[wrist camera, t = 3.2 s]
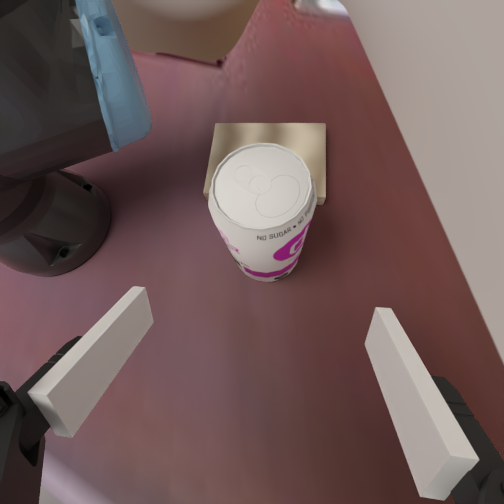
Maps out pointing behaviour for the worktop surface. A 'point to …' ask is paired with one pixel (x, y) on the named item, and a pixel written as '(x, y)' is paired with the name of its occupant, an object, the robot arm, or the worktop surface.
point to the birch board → (284, 134)
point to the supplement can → (263, 208)
